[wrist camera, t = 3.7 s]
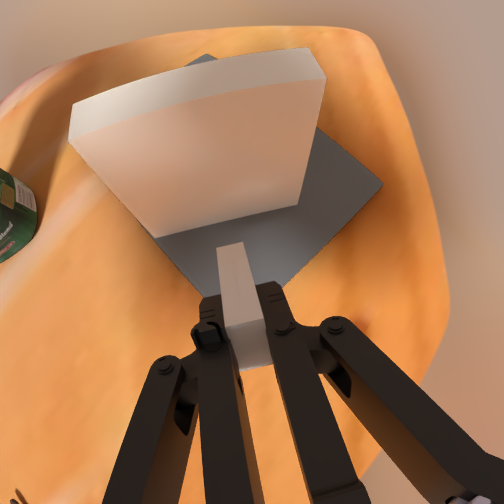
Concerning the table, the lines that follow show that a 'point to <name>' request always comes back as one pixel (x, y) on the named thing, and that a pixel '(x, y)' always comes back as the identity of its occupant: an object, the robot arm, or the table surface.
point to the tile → (205, 138)
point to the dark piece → (13, 501)
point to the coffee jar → (15, 215)
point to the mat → (279, 222)
